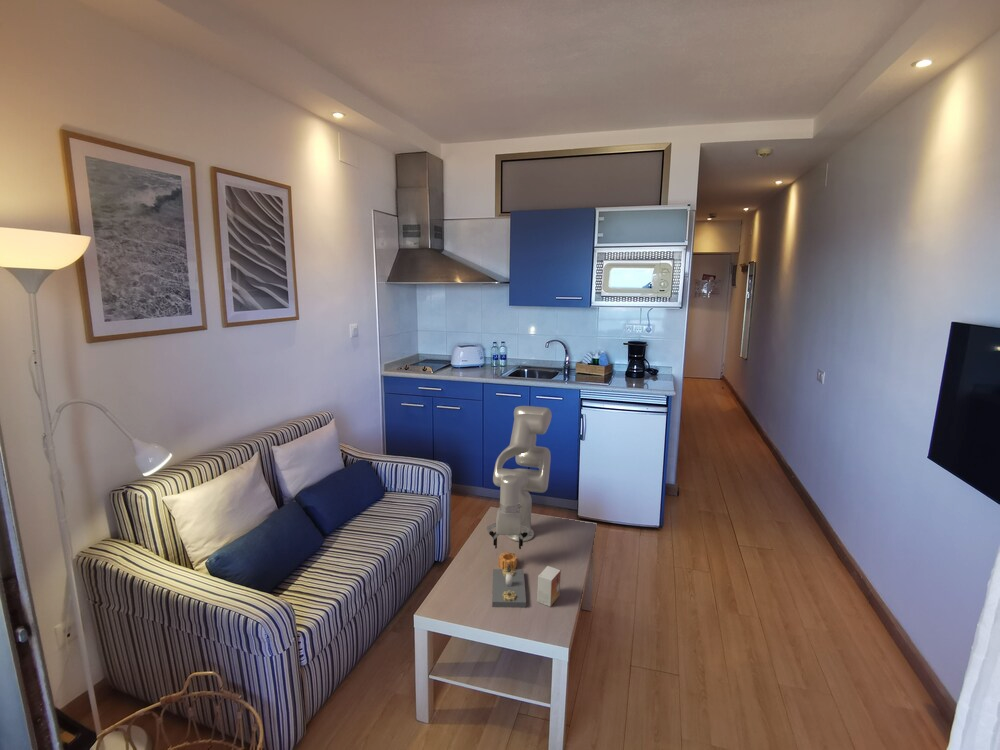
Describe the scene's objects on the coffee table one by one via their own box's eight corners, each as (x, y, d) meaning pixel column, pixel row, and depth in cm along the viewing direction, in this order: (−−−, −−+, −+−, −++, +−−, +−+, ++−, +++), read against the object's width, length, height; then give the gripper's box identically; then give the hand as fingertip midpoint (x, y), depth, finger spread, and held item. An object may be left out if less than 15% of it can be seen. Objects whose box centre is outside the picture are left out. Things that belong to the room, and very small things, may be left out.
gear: (498, 560, 203) (499, 551, 202) (516, 561, 203) (516, 552, 202) (498, 571, 196) (499, 562, 195) (517, 571, 196) (517, 562, 195)
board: (493, 573, 194) (493, 559, 193) (523, 574, 194) (523, 560, 193) (492, 606, 175) (492, 591, 173) (525, 607, 175) (526, 592, 173)
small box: (550, 607, 175) (551, 581, 173) (536, 602, 178) (537, 575, 176) (560, 595, 182) (561, 570, 179) (546, 590, 184) (547, 565, 182)
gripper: (530, 503, 198) (528, 543, 201) (487, 502, 198) (486, 542, 201) (531, 511, 191) (529, 552, 193) (487, 510, 191) (486, 551, 193)
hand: (507, 547), depth 197 cm, fingers open, 9 cm apart
